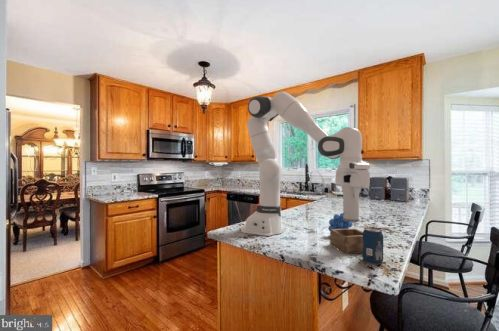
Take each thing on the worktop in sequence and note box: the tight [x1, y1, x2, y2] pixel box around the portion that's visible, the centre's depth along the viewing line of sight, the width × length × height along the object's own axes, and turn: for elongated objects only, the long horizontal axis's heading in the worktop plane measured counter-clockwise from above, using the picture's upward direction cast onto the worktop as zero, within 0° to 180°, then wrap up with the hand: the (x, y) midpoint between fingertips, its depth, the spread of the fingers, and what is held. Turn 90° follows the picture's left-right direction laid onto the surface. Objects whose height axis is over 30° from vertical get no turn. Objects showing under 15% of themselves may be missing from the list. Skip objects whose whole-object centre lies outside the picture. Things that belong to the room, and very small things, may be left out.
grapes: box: [327, 212, 353, 232], centre depth 120 cm, size 12×7×12 cm, turn 82°
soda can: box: [361, 227, 384, 265], centre depth 88 cm, size 7×7×12 cm
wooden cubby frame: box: [329, 228, 363, 254], centre depth 102 cm, size 12×11×7 cm
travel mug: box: [342, 175, 360, 223], centre depth 102 cm, size 6×7×20 cm
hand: (350, 196), depth 102 cm, fingers closed on travel mug, 6 cm apart
